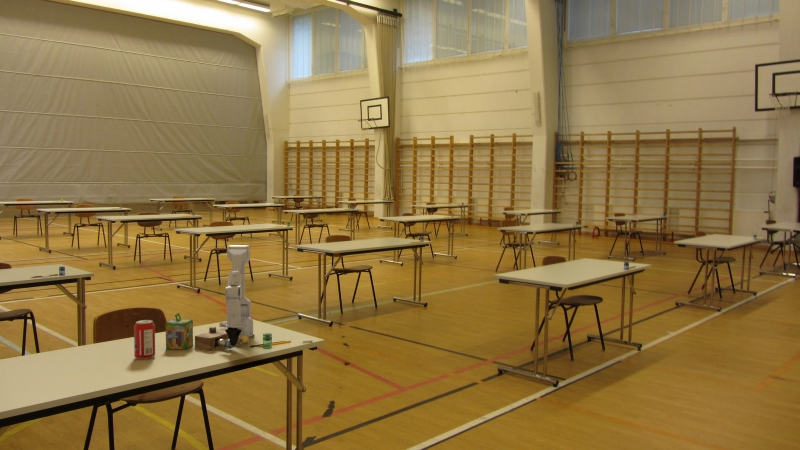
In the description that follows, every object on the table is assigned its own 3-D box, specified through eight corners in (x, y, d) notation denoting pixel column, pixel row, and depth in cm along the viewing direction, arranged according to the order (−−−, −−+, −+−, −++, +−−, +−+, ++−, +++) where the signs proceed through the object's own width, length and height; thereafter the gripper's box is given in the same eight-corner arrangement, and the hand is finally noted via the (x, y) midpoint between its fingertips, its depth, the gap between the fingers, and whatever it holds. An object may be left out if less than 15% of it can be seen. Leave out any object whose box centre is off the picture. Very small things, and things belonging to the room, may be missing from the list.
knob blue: (215, 344, 268) (215, 335, 268) (234, 347, 263) (234, 338, 263) (209, 346, 265) (209, 337, 264) (228, 349, 260) (228, 340, 259)
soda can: (147, 360, 244) (147, 324, 243) (130, 359, 246) (129, 322, 245) (159, 355, 252) (158, 319, 251) (142, 354, 253) (141, 319, 253)
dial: (212, 331, 274) (212, 326, 273) (217, 331, 272) (217, 327, 272) (207, 332, 271) (207, 327, 271) (212, 333, 269) (212, 328, 269)
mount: (224, 339, 280) (224, 327, 280) (239, 341, 276) (239, 330, 276) (194, 348, 265) (194, 335, 264) (210, 350, 260) (210, 338, 260)
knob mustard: (230, 340, 275) (230, 332, 274) (249, 343, 269) (249, 335, 269) (224, 342, 271) (224, 334, 271) (243, 345, 266) (243, 337, 266)
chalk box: (186, 350, 261) (186, 315, 261) (165, 349, 262) (164, 315, 261) (194, 344, 271) (193, 311, 270) (173, 344, 271) (173, 311, 270)
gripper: (214, 313, 260) (214, 345, 260) (239, 317, 253) (240, 349, 254) (225, 310, 266) (226, 341, 267) (251, 314, 259) (251, 345, 260)
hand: (233, 345), depth 261 cm, fingers closed
